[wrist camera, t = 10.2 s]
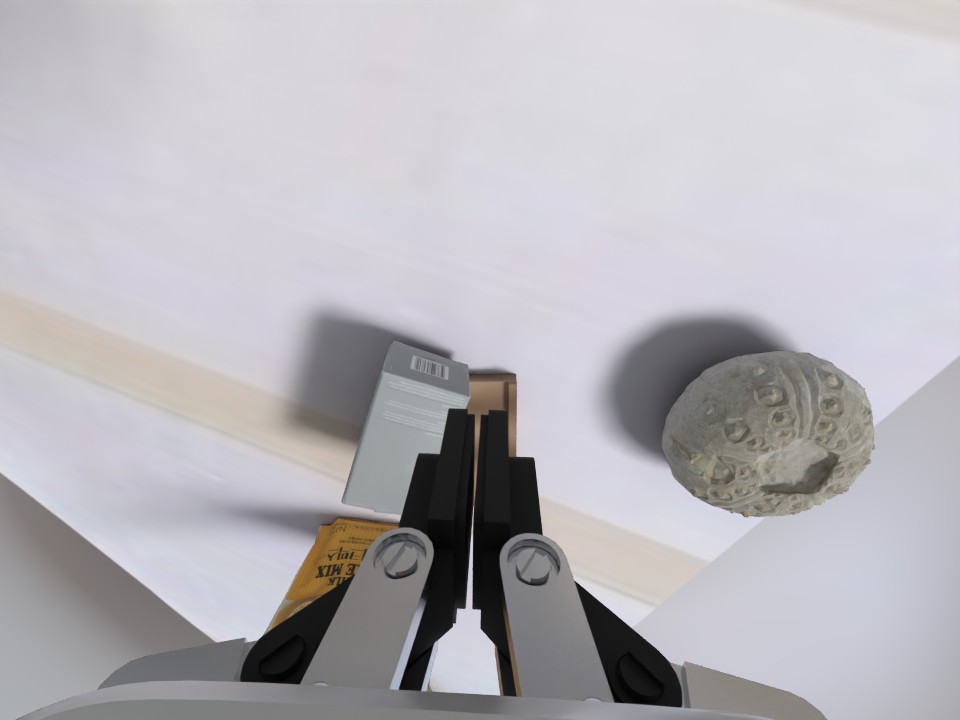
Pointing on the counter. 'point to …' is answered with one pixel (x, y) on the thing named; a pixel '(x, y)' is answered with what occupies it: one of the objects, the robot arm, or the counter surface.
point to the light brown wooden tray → (493, 405)
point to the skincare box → (403, 425)
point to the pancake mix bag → (330, 563)
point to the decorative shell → (769, 434)
